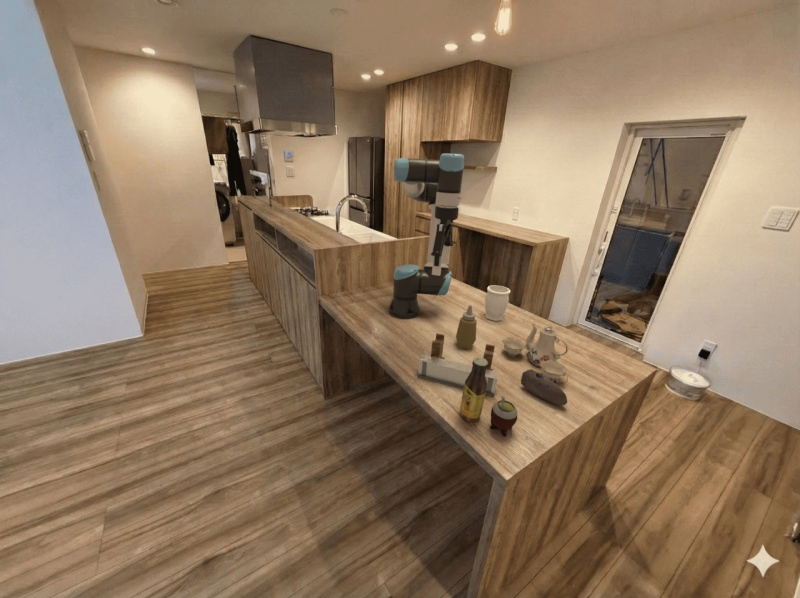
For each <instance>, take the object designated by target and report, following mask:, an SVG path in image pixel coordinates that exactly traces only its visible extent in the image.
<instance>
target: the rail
mask: <svg viewBox="0 0 800 598" xmlns="http://www.w3.org/2000/svg"><path fill="white" fill-rule="evenodd" d="M472 366H473V365H470V364H465V363H460V362H457V361H452V360H448V359H441V358H437V357H432V356H431V355H428V354H422V355H421V356H420V359H418V371H417V375H422V376H425V377H429V378H433V379H437V380H441V381H445V382H449V383H453V384H456V385H460V386H464V384H465V380H466V379H467V377H468V376H469V374H470V373H471V370H472ZM485 377H486V379H487V387H486V392H487V393H491V394H494V395H495V393H496V388H497V384H498V379H499V378H498V377H499V371H495V370H493V371H491V370H487V369H486V372H485Z"/></svg>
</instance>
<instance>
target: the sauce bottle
mask: <svg viewBox="0 0 800 598" xmlns="http://www.w3.org/2000/svg"><path fill="white" fill-rule="evenodd" d="M471 364H472V365H471V366H472V370H471V373H470V374H469V376H468V377H467V379H466V380H465V384H464V389H462V396H461V402H460V407H459V409H460V411H459V414H460V416H461V417H462V419H464V420H466V421H469V422H477V421H478V420H480V418H481V415H482V411H483V407H484V402H485V398H486V395H485V394H486V387H487V379H486V377H485V372H486V368H487V366H488V362H487V360H486V359H484V358H483V357H482V356H477V357H474V358H473V359H472V363H471Z"/></svg>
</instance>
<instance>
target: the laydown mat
mask: <svg viewBox="0 0 800 598" xmlns="http://www.w3.org/2000/svg"><path fill="white" fill-rule="evenodd" d="M416 377H417V378H419V379H423V380H426V381H431V382H434V383H439V384H442V385H446V386H450V387H454V388H457V389H461V390H463V389H464V386H460V385H456V384H453V383H449V382H445V381H441V380H437V379H433V378H429V377H425V376H422V375H418V374H417V375H416ZM485 396H488V397H493V398H494V397H495V394H491V393H487V392H486V394H485Z"/></svg>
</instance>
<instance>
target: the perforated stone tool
mask: <svg viewBox="0 0 800 598" xmlns="http://www.w3.org/2000/svg"><path fill="white" fill-rule="evenodd" d="M520 384H521V386H522V387H523V388H525V389H526V390H528V392H529V393H531V394H533V395H535V396H537V397H539V398H541V399H542V400H545V401H547V402H549V403H551V404H554V405H558V406H565V405H567V404H568V397H567V394H566V393H565V391H564V390H563V389H562V388H561V387H559V386H558V385H557V384H556V383H555V382H554V381H553V382H552V381H551V380H549V379H548V378H546V377H545V376H544V375H543V374H542V373H540V372H537V371H535V370H533V369H527V370H525V371H523V372H522V375H521V378H520Z"/></svg>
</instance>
